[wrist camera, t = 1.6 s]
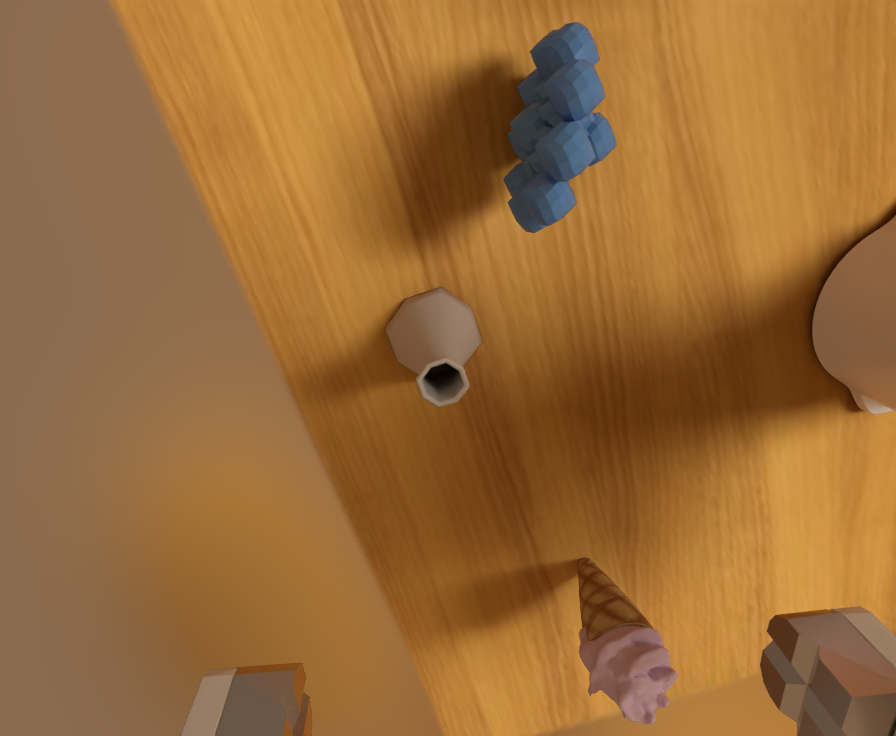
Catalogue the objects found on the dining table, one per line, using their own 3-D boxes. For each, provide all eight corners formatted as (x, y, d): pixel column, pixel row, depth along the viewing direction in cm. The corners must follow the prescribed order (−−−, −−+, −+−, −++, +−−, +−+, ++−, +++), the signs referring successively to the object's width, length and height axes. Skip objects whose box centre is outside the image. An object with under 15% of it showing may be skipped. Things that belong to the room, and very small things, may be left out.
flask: (368, 325, 42) (359, 374, 33) (443, 269, 41) (456, 303, 32) (424, 393, 45) (431, 455, 35) (497, 341, 44) (523, 392, 34)
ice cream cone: (553, 596, 54) (606, 751, 40) (541, 547, 51) (592, 694, 38) (619, 578, 54) (695, 727, 40) (609, 529, 51) (687, 669, 37)
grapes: (566, 229, 41) (628, 258, 30) (477, 214, 40) (507, 238, 29) (608, 54, 37) (698, 11, 26) (510, 33, 36) (560, -21, 25)
